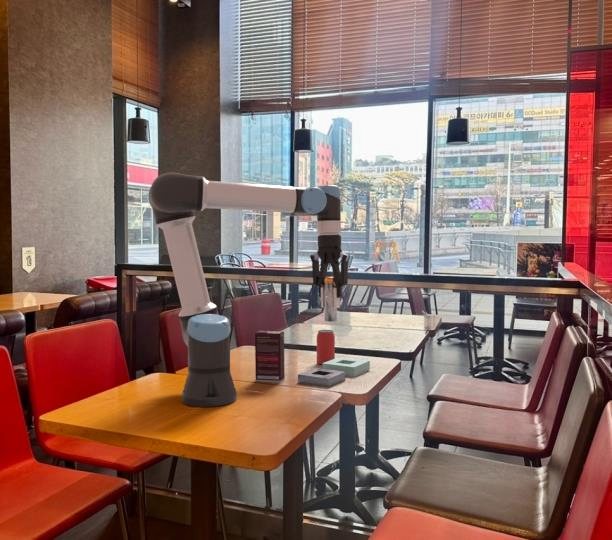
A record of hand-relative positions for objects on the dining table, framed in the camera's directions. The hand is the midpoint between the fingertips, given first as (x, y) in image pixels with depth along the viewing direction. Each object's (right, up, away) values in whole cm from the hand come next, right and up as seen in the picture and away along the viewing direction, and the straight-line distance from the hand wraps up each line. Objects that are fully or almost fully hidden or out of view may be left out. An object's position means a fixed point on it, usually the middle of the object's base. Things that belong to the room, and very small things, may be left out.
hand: (330, 307), depth 187 cm
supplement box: (-19, -24, -1) cm, 31 cm away
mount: (-3, -24, -3) cm, 24 cm away
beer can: (-1, -22, +26) cm, 35 cm away
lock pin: (0, -4, 0) cm, 4 cm away
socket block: (+6, -23, +12) cm, 26 cm away
